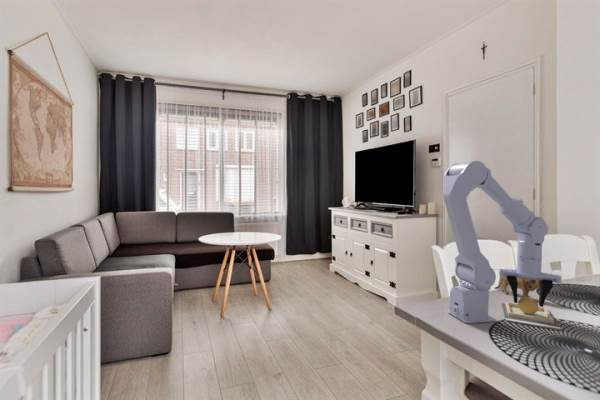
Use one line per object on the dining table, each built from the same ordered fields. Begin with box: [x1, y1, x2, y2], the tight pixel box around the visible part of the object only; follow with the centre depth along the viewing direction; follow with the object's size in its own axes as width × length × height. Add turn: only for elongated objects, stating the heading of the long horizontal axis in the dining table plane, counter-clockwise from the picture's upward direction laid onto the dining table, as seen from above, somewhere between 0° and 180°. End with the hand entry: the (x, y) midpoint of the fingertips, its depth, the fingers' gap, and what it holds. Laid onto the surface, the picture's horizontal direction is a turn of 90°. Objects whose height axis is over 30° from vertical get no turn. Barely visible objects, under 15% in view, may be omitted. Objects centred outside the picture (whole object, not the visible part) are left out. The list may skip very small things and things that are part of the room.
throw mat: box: [501, 301, 563, 332], centre depth 91 cm, size 16×12×1 cm
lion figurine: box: [494, 276, 540, 298], centre depth 109 cm, size 15×5×9 cm, turn 35°
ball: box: [517, 296, 539, 314], centre depth 92 cm, size 5×5×5 cm
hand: (528, 303), depth 92 cm, fingers open, 5 cm apart
